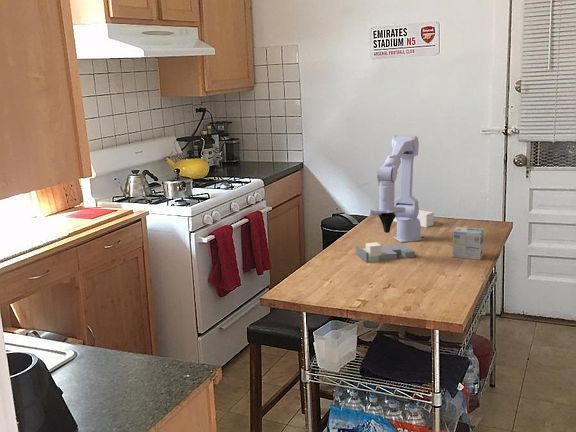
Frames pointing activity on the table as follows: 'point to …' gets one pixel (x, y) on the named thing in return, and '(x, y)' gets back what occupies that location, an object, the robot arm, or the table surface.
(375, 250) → the block
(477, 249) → the light bulb box
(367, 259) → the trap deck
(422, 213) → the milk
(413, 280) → the table surface
